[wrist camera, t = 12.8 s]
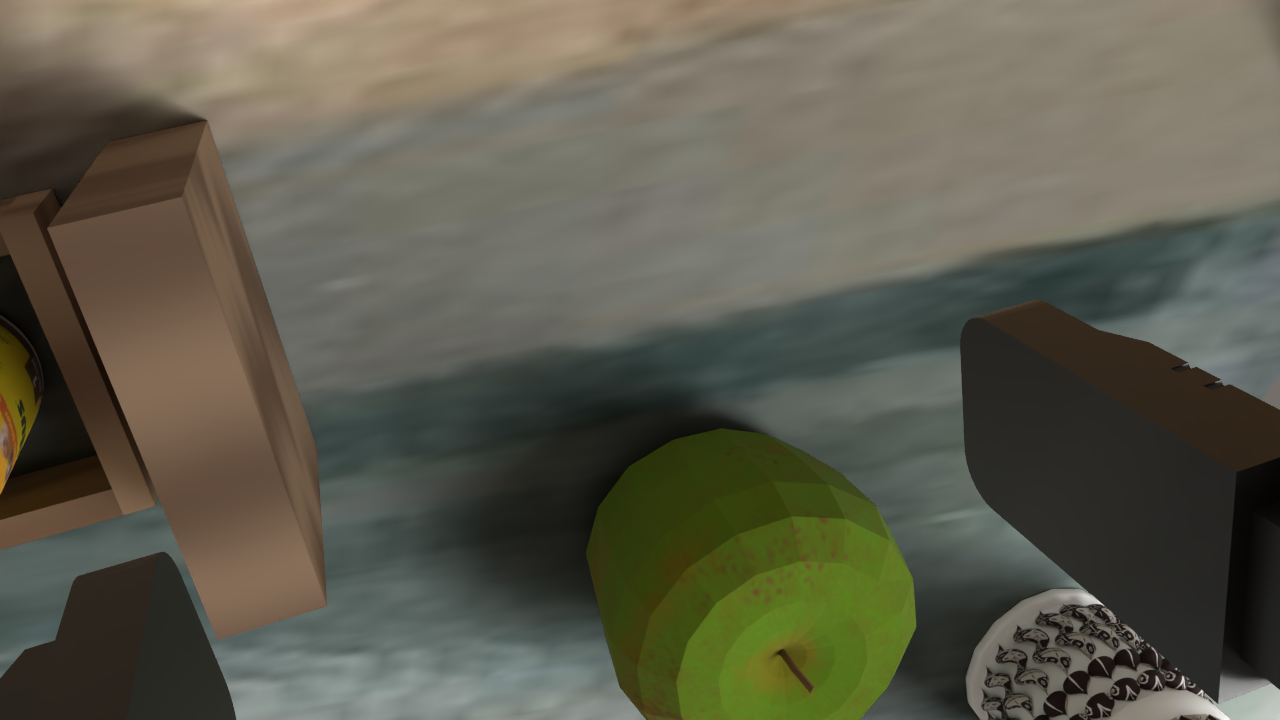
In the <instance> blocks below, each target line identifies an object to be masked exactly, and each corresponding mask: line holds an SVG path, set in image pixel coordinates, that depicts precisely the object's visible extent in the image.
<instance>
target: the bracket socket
mask: <svg viewBox="0 0 1280 720" xmlns="http://www.w3.org/2000/svg"><path fill="white" fill-rule="evenodd" d="M9 254H10V255H11V257H12V260H13V262H14V264H15V266H16V269H17V271H18V273H19V276H20V278H21V280H22V283H23V285H24V287H25V289H26V292H27V294H28V296H29V299H30V301H31V303H32V306H33V308H34V310H35V313H36V315H37V317H38V319H39V322H40V324H41V326H42V329H43V331H44V333H45V336H46V338H47V340H48V342H49V345H50V347H51V349H52V352H53V354H54V356H55V359H56V361H57V363H58V365H59V368H60V370H61V372H62V375H63V377H64V379H65V382H66V384H67V386H68V388H69V391H70V393H71V395H72V398H73V400H74V402H75V405H76V407H77V409H78V412H79V414H80V416H81V418H82V421H83V423H84V425H85V428H86V430H87V432H88V435H89V437H90V439H91V441H92V444H93V446H94V448H95V451H96V453H97V455H94V456H90V457H87V458H83V459H79V460H76V461H72V462H68V463H65V464H61V465H57V466H53V467H50V468H46V469H42V470H39V471H35V472H31V473H28V474H24V475H20V476H17V477H13V478H9V479H7V482H6V484H5V486H4V488H3V490H2V492H1V494H0V550H2V549H6V548H9V547H13V546H16V545H20V544H23V543H27V542H30V541H34V540H38V539H41V538H45V537H48V536H52V535H55V534H59V533H62V532H66V531H69V530H73V529H77V528H80V527H84V526H87V525H91V524H94V523H98V522H101V521H105V520H108V519H112V518H115V517H119V516H123V515H126V514H130V513H133V512H137V511H140V510H144V509H147V508H151V507H154V506H156V502H157V497H159V499H160V502H161V504H162V507H163V509H164V511H165V514H166V516H167V519H168V521H169V523H170V526H171V528H172V531H173V533H174V535H175V538H176V540H177V543H178V545H179V548H180V550H181V552H182V555H183V557H184V560H185V562H186V564H187V567H188V569H189V572H190V574H191V576H192V579H193V581H194V584H195V586H196V589H197V591H198V593H199V596H200V598H201V601H202V603H203V605H204V608H205V610H206V613H207V615H208V617H209V620H210V622H211V625H212V627H213V630H214V632H215V634H216V637H217V639H222V638H225V637H228V636H231V635H235V634H238V633H241V632H244V631H248V630H251V629H254V628H257V627H261V626H264V625H267V624H270V623H274V622H277V621H280V620H283V619H287V618H290V617H293V616H296V615H300V614H303V613H306V612H309V611H312V610H316V609H319V608H322V607H325V606H327V598H326V582H325V567H324V551H323V535H322V520H321V504H320V488H319V473H318V457H317V447H316V444H315V441H314V438H313V435H312V432H311V429H310V426H309V423H308V420H307V417H306V414H305V411H304V408H303V405H302V402H301V399H300V396H299V393H298V390H297V387H296V384H295V381H294V378H293V375H292V372H291V369H290V366H289V363H288V360H287V357H286V354H285V351H284V348H283V345H282V342H281V339H280V336H279V333H278V330H277V327H276V324H275V321H274V318H273V315H272V312H271V309H270V306H269V303H268V300H267V297H266V294H265V291H264V288H263V285H262V282H261V280H260V277H259V274H258V271H257V268H256V265H255V262H254V259H253V256H252V253H251V250H250V247H249V244H248V241H247V238H246V235H245V232H244V229H243V226H242V223H241V220H240V217H239V214H238V211H237V208H236V205H235V202H234V199H233V196H232V193H231V190H230V187H229V184H228V181H227V178H226V175H225V172H224V169H223V166H222V163H221V160H220V157H219V154H218V151H217V148H216V145H215V142H214V139H213V136H212V133H211V130H210V127H209V124H208V121H207V120H206V121H201V122H197V123H192V124H187V125H183V126H178V127H174V128H169V129H165V130H160V131H155V132H151V133H146V134H142V135H137V136H133V137H128V138H123V139H119V140H114V141H110V142H107V144H106V145H105V147H104V148H103V149H102V151H101V152H100V154H99V155H98V157H97V158H96V159H95V161H94V162H93V164H92V165H91V166H90V168H89V169H88V171H87V172H86V174H85V175H84V176H83V178H82V179H81V181H80V182H79V184H78V185H77V186H76V188H75V189H74V191H73V192H72V193H71V195H70V196H69V198H68V199H67V201H66V202H65V203H64V205H63V206H62V208H60V206H59V203H58V201H57V198H56V196H55V193H54V191H53V189H52V188H51V189H47V190H42V191H38V192H33V193H29V194H24V195H20V196H15V197H11V198H7V199H2V200H0V257H1V256H5V255H9Z"/></svg>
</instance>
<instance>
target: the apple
mask: <svg viewBox="0 0 1280 720" xmlns="http://www.w3.org/2000/svg"><path fill="white" fill-rule="evenodd" d="M586 556H587V560H588V564H589V569H590V573H591V577H592V581H593V586H594V590H595V594H596V598H597V602H598V607H599V611H600V615H601V619H602V623H603V628H604V632H605V636H606V640H607V644H608V647H609V651H610V654H611V658H612V661H613V665H614V668H615V672H616V675H617V679H618V682H619V686H620V688H621V689H622V690H623V692H624V693H625V694H626V695H627V697H628V698H629V699H630V700H631V702H632V703H633V704H634V705H635V706H636V708H637V709H638V710H639V711H640V713H641V714H642V715H643V716H644V718H645V719H646V720H860V719H861V718H862V716H863V715H864V714H865V713H866V712H867V711H868V709H869V708H870V707H871V706H872V705H873V704H874V702H875V701H876V700H877V699H878V698H879V697H880V695H881V694H882V693H883V692H884V691H885V690H886V688H887V687H888V685H889V683H890V682H891V680H892V678H893V676H894V674H895V672H896V670H897V668H898V666H899V664H900V661H901V659H902V657H903V655H904V653H905V651H906V648H907V646H908V644H909V642H910V640H911V638H912V635H913V633H914V631H915V629H916V612H915V597H914V582H913V578H912V575H911V573H910V571H909V569H908V566H907V564H906V562H905V560H904V557H903V555H902V553H901V551H900V548H899V546H898V545H897V543H896V541H895V539H894V537H893V536H892V534H891V532H890V530H889V529H888V527H887V525H886V523H885V521H884V520H883V518H882V516H881V514H880V513H879V511H878V509H877V507H876V505H875V504H874V503H873V502H871V501H870V500H869V499H868V498H867V497H866V496H865V495H864V494H863V493H862V492H860V491H859V490H858V489H857V488H856V487H855V486H854V485H853V484H852V483H851V482H849V481H848V480H847V479H846V478H845V477H844V476H843V475H842V474H841V473H839V472H838V471H836V470H834V469H832V468H831V467H829V466H827V465H826V464H824V463H822V462H821V461H819V460H817V459H815V458H814V457H812V456H810V455H809V454H807V453H805V452H804V451H802V450H800V449H797V448H795V447H793V446H791V445H789V444H787V443H784V442H782V441H780V440H778V439H776V438H773V437H771V436H769V435H767V434H763V433H755V432H747V431H739V430H730V429H722V428H721V429H716V430H712V431H708V432H704V433H700V434H695V435H691V436H687V437H683V438H679V439H674V440H672V441H670V442H669V443H667V444H665V445H664V446H662V447H660V448H659V449H657V450H655V451H654V452H652V453H650V454H649V455H647V456H645V457H644V458H642V459H640V460H639V461H637V462H635V463H634V464H632V465H630V466H629V467H628V468H627V469H626V471H625V472H624V473H623V475H622V476H621V477H620V479H619V480H618V481H617V483H616V484H615V485H614V487H613V488H612V489H611V491H610V492H609V493H608V495H607V496H606V497H605V499H604V500H603V501H602V503H601V504H600V505H599V507H598V509H597V513H596V517H595V521H594V524H593V528H592V532H591V535H590V539H589V543H588V547H587V550H586Z"/></svg>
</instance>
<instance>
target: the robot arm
mask: <svg viewBox="0 0 1280 720" xmlns="http://www.w3.org/2000/svg"><path fill="white" fill-rule="evenodd" d="M960 350H961V373H962V396H963V419H964V442H965V455H966V460H967V465H968V468H969V472H970V474H971V477H972V479H973V482H974V484H975V486H976V488H977V490H978V492H979V493H980V495H981V496H982V498H983V499H984V500H985V502H986V503H987V504H988V505H989V506H990V507H991V508H992V509H993V510H994V511H995V512H996V513H998V514H999V515H1000V516H1001V517H1002V518H1003V519H1005V520H1006V521H1007V522H1008V523H1009V524H1010V525H1011V526H1013V527H1014V528H1015V529H1016V530H1017V531H1018V532H1020V533H1021V534H1022V535H1023V536H1024V537H1025V538H1027V539H1028V540H1029V541H1030V542H1031V543H1032V544H1033V545H1035V546H1036V547H1037V548H1038V549H1039V550H1040V551H1042V552H1043V553H1044V554H1045V555H1046V556H1047V557H1049V558H1050V559H1051V560H1052V561H1053V562H1054V563H1055V564H1057V565H1058V566H1059V567H1060V568H1061V569H1062V570H1064V571H1065V572H1066V573H1067V574H1068V575H1069V576H1071V577H1072V578H1073V579H1074V580H1075V581H1076V582H1077V583H1079V584H1080V585H1081V586H1082V587H1083V588H1084V589H1086V590H1087V591H1088V592H1089V593H1090V594H1091V595H1093V596H1094V597H1095V598H1096V599H1097V600H1098V601H1099V602H1101V603H1102V604H1103V605H1104V606H1105V607H1106V608H1108V609H1109V610H1110V611H1111V612H1112V613H1113V614H1114V615H1116V616H1117V617H1118V618H1119V619H1120V620H1121V621H1123V622H1124V623H1125V624H1126V625H1127V626H1128V627H1130V628H1131V629H1132V630H1133V631H1134V632H1135V633H1136V634H1138V635H1139V636H1140V637H1141V638H1142V639H1143V640H1145V641H1146V642H1147V643H1148V644H1149V645H1150V646H1152V647H1153V648H1154V649H1155V650H1156V651H1157V652H1158V653H1160V654H1161V655H1162V656H1163V657H1164V658H1165V659H1167V660H1168V661H1169V662H1170V663H1171V664H1172V665H1174V666H1175V667H1176V668H1177V669H1178V670H1179V671H1180V672H1182V673H1183V674H1184V675H1185V676H1186V677H1187V678H1189V679H1190V680H1191V681H1192V682H1193V683H1194V684H1196V685H1197V686H1198V687H1199V688H1200V689H1201V690H1202V691H1204V692H1205V693H1206V694H1207V695H1208V696H1209V697H1211V698H1212V699H1213V700H1214V701H1215V702H1216V703H1218V704H1220V703H1222V702H1225V701H1227V700H1230V699H1233V698H1235V697H1238V696H1240V695H1243V694H1246V693H1248V692H1251V691H1253V690H1256V689H1259V688H1261V687H1264V686H1266V685H1269V684H1271V683H1272V684H1273V685H1275V686H1276V687H1277V688H1278V689H1280V410H1279V409H1277V408H1275V407H1273V406H1271V405H1269V404H1267V403H1265V402H1263V401H1261V400H1260V399H1258V398H1256V397H1254V396H1252V395H1250V394H1248V393H1246V392H1244V391H1242V390H1240V389H1238V388H1236V387H1234V386H1232V385H1227V386H1224V385H1223V384H1222V380H1221V379H1219V378H1217V377H1215V376H1213V375H1211V374H1209V373H1207V372H1205V371H1203V370H1201V369H1199V368H1197V367H1195V368H1192V369H1191V368H1190V367H1189V363H1188V362H1186V361H1184V360H1182V359H1180V358H1178V357H1176V356H1174V355H1172V354H1170V353H1168V352H1166V351H1165V350H1163V349H1161V348H1159V347H1157V346H1155V345H1153V344H1151V343H1149V342H1145V341H1141V340H1137V339H1133V338H1129V337H1125V336H1121V335H1117V334H1112V333H1108V332H1104V331H1100V330H1097V329H1095V328H1094V327H1092V326H1090V325H1088V324H1086V323H1084V322H1082V321H1080V320H1079V319H1077V318H1075V317H1073V316H1071V315H1069V314H1067V313H1065V312H1063V311H1062V310H1060V309H1058V308H1056V307H1054V306H1052V305H1050V304H1048V303H1046V302H1044V301H1041V300H1034V301H1030V302H1026V303H1023V304H1019V305H1016V306H1013V307H1009V308H1006V309H1002V310H999V311H995V312H992V313H988V314H985V315H982V316H978V317H975V318H972V319H970V320H968V321H967V323H966V324H965V326H964V327H963V330H962V334H961V341H960ZM0 720H236V716H235V711H234V707H233V703H232V700H231V696H230V693H229V690H228V687H227V684H226V682H225V679H224V677H223V674H222V672H221V670H220V667H219V665H218V662H217V660H216V658H215V655H214V653H213V650H212V648H211V646H210V643H209V641H208V639H207V636H206V634H205V631H204V629H203V627H202V624H201V622H200V619H199V617H198V615H197V612H196V610H195V608H194V605H193V603H192V600H191V598H190V596H189V593H188V591H187V588H186V586H185V584H184V581H183V579H182V577H181V574H180V572H179V570H178V568H177V566H176V564H175V563H174V561H173V560H172V558H171V557H170V556H169V555H168V554H167V553H165V552H160V553H156V554H153V555H149V556H146V557H142V558H139V559H135V560H132V561H129V562H125V563H122V564H118V565H115V566H111V567H108V568H105V569H101V570H98V571H94V572H91V573H87V574H84V575H80V576H78V577H76V579H75V580H74V582H73V584H72V587H71V590H70V593H69V597H68V600H67V603H66V607H65V610H64V613H63V616H62V620H61V623H60V626H59V630H58V633H57V636H56V640H55V641H52V642H49V643H45V644H42V645H39V646H35V647H32V648H29V649H25V650H24V651H23V653H22V654H21V655H20V656H19V657H18V658H17V660H16V661H15V662H14V663H13V664H12V665H11V667H10V668H9V669H8V670H7V671H6V672H5V674H4V675H3V676H2V677H1V678H0Z"/></svg>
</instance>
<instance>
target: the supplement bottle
mask: <svg viewBox="0 0 1280 720" xmlns="http://www.w3.org/2000/svg"><path fill="white" fill-rule="evenodd" d="M43 390H44V381H43V373H42V368H41V364H40V361H39V358H38V355H37V353H36V351H35V350H34V348H33V346H32V345H31V343H30V341H29V340H28V339H27V338H26V336H25V335H24V334H23V333H22V332H21V331H20V330H19V329H18V328H17V327H16V326H15V325H14V324H12V323H11V322H10V321H9V320H7V319H6V318H4V317H3V316H1V315H0V494H1V492H2V490H3V488H4V486H5V484H6V482H7V479H8V477H9V475H10V473H11V471H12V469H13V466H14V464H15V462H16V460H17V458H18V455H19V453H20V451H21V449H22V447H23V445H24V443H25V441H26V438H27V436H28V434H29V432H30V430H31V428H32V425H33V423H34V421H35V419H36V416H37V414H38V411H39V409H40V405H41V402H42V398H43Z"/></svg>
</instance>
